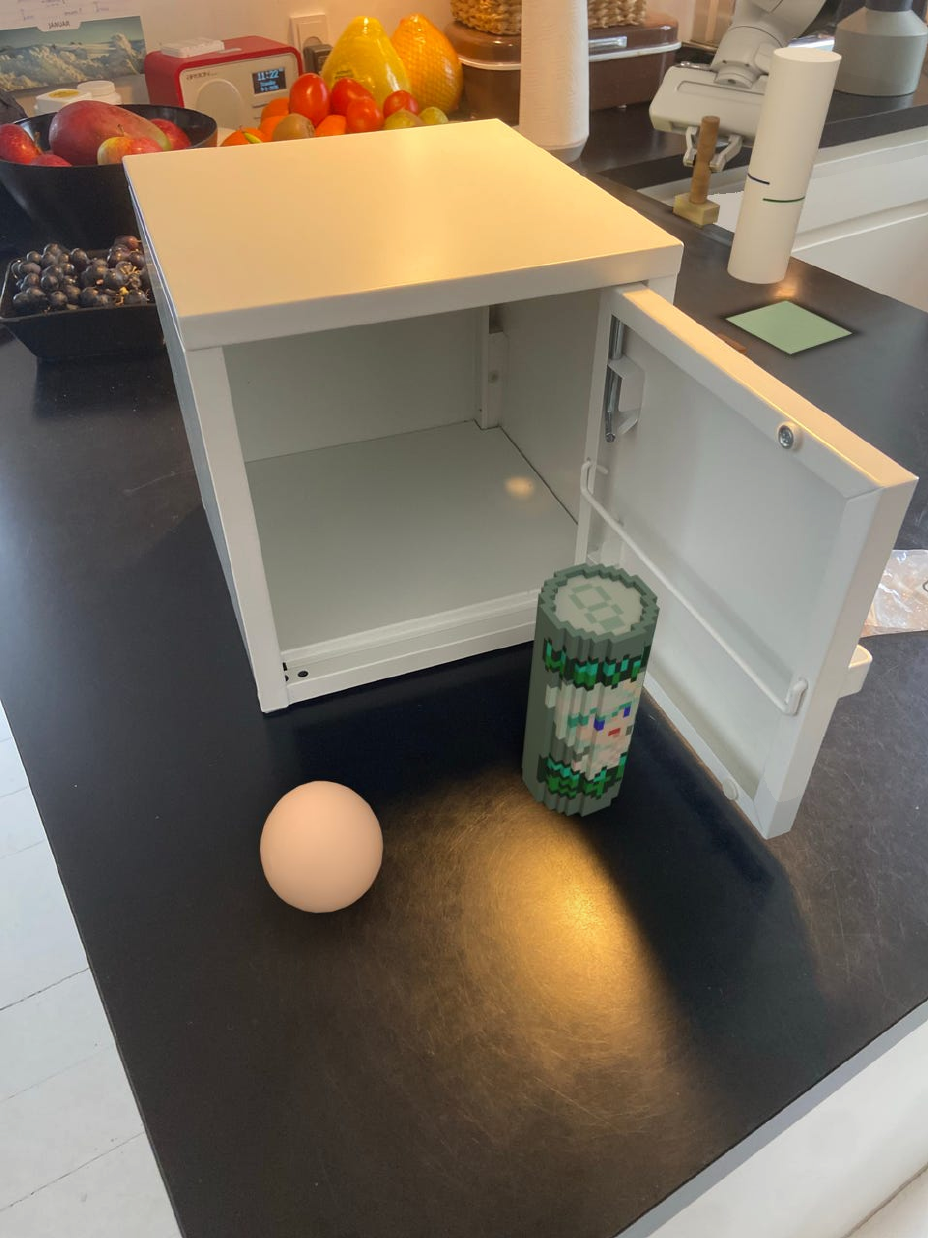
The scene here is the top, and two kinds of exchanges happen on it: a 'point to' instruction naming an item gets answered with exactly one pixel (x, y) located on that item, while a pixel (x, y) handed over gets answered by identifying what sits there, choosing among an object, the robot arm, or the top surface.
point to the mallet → (701, 179)
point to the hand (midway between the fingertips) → (701, 167)
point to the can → (585, 685)
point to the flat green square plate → (788, 326)
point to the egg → (321, 847)
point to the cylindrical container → (782, 161)
